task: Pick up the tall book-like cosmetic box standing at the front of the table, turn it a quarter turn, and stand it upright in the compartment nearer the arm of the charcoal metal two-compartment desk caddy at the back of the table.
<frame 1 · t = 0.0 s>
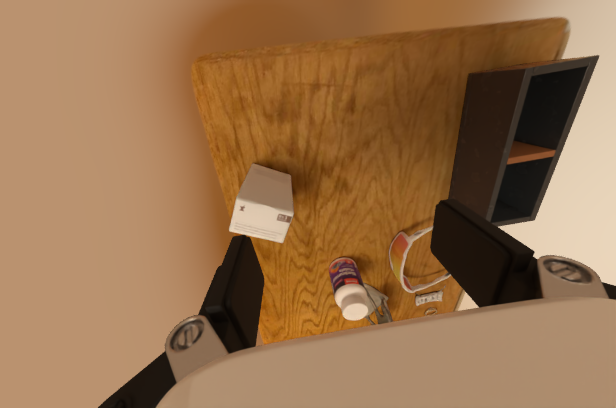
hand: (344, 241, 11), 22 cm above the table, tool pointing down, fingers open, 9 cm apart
pill bottle: (342, 266, 42), on the table
sunglasses: (424, 248, 42), on the table
caddy: (480, 143, 33), on the table
ring: (429, 310, 50), on the table
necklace: (428, 293, 48), on the table
cosmetic box: (269, 179, 33), on the table
figurine: (373, 299, 47), on the table
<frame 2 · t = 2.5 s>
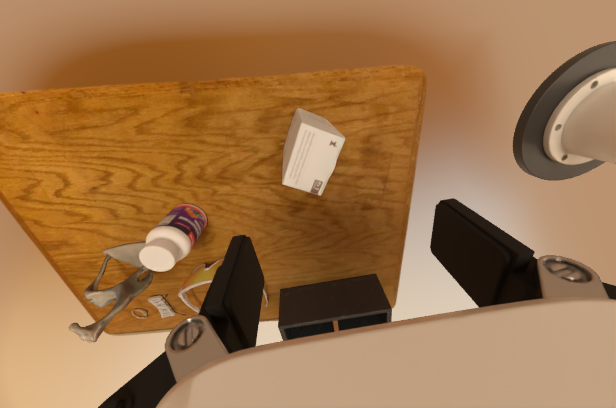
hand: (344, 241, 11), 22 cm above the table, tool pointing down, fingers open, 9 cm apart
pill bottle: (190, 217, 35), on the table
sunglasses: (229, 285, 42), on the table
caddy: (329, 293, 45), on the table
ring: (141, 311, 44), on the table
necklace: (168, 303, 43), on the table
cosmetic box: (304, 135, 30), on the table
figurine: (142, 256, 38), on the table
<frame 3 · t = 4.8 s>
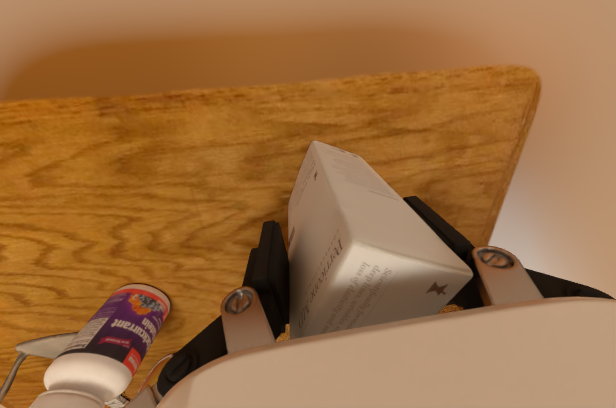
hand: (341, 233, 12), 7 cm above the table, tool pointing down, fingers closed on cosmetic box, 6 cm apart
pill bottle: (145, 299, 23), on the table
sunglasses: (210, 375, 30), on the table
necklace: (126, 398, 31), on the table
cosmetic box: (323, 182, 18), on the table, touching gripper
figurine: (79, 349, 26), on the table
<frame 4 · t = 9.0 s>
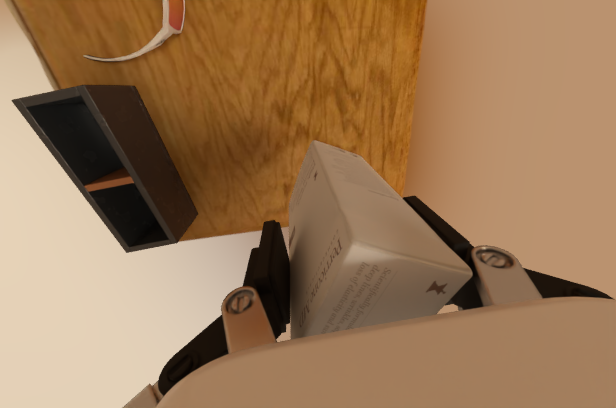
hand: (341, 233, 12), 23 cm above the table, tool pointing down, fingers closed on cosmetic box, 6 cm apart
caddy: (147, 163, 32), on the table
cosmetic box: (323, 182, 18), point 16 cm above the table, touching gripper
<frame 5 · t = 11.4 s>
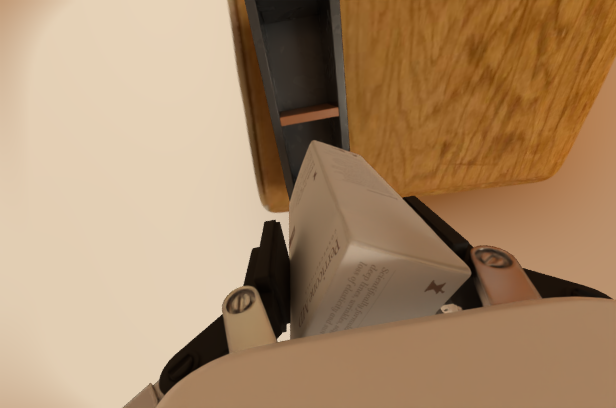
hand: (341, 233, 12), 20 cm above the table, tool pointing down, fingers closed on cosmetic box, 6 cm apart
caddy: (304, 110, 27), on the table
cosmetic box: (323, 182, 18), point 13 cm above the table, touching gripper
when the fingers open (9 cm above the table, at t = 14.0 s): cosmetic box moves 1 cm, resting on caddy.
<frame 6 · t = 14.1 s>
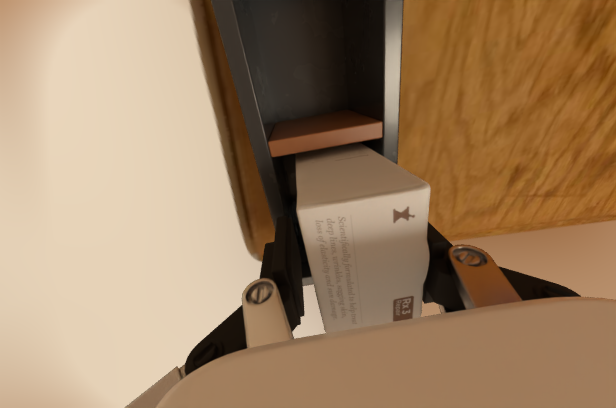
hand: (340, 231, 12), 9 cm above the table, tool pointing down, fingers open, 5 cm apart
caddy: (311, 120, 17), on the table
cosmetic box: (326, 173, 19), point 1 cm above the table, touching caddy
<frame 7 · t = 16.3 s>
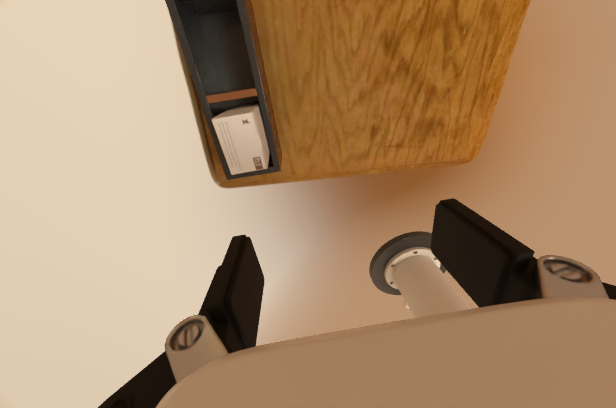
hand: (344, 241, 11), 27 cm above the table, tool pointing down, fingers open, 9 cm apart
caddy: (243, 93, 31), on the table
cosmetic box: (254, 125, 33), point 1 cm above the table, touching caddy
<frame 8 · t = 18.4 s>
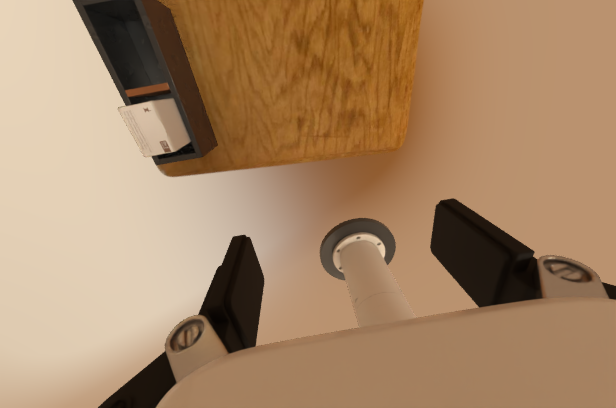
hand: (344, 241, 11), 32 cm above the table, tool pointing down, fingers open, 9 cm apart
caddy: (175, 89, 35), on the table
cosmetic box: (188, 118, 37), point 1 cm above the table, touching caddy
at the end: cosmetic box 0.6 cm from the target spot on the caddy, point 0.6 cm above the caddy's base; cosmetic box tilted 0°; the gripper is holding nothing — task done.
